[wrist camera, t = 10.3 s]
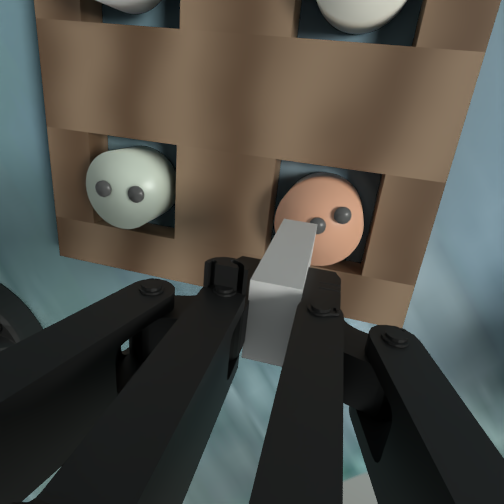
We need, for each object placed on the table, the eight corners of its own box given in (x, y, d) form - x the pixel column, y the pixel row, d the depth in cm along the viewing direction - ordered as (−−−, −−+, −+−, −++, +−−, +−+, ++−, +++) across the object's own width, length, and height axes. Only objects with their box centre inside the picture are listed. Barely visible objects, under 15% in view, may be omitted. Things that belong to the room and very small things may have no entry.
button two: (115, 210, 27) (86, 222, 24) (112, 141, 25) (81, 145, 22) (177, 221, 26) (154, 236, 23) (179, 151, 24) (155, 156, 21)
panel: (78, 246, 29) (60, 255, 27) (44, -169, 20) (13, -196, 18) (398, 313, 24) (401, 329, 23) (544, -187, 15) (569, -227, 14)
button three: (279, 240, 24) (268, 258, 22) (289, 166, 23) (279, 175, 20) (353, 254, 23) (353, 274, 21) (370, 178, 22) (372, 189, 19)
